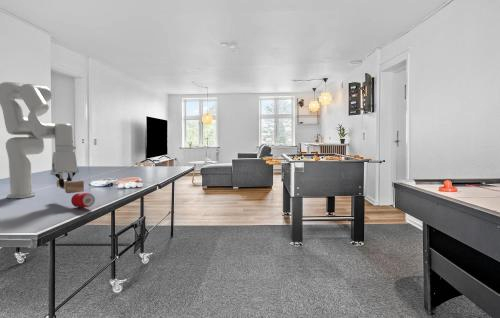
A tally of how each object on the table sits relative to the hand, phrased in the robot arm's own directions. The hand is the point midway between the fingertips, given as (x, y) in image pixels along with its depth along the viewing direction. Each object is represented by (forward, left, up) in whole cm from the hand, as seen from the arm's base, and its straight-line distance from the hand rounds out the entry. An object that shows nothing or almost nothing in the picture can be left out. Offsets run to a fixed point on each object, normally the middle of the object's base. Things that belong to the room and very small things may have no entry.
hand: (65, 186), depth 163 cm
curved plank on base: (+2, 0, -1) cm, 2 cm away
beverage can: (+14, 0, -5) cm, 15 cm away
